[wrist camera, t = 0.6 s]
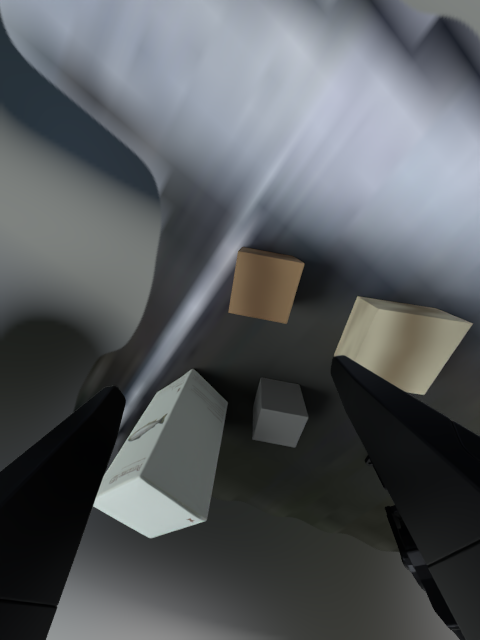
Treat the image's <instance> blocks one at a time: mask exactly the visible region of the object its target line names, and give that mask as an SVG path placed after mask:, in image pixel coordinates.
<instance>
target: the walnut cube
mask: <svg viewBox="0 0 480 640" xmlns="http://www.w3.org/2000/svg"><path fill="white" fill-rule="evenodd" d="M304 264H305V263H303V262H301V261H300V260H298V259H297V258H295V257H294V256H289V255H284V254H278V253H273V252H268V251H262V250H257V249H252V248H246V247H242V248H241V249H240V250H239V251H238V256H237V262H236V268H235V275H234V281H233V287H232V294H231V300H230V306H229V313H233V314H238V315H244V316H249V317H254V318H260V319H265V320H270V321H275V322H281V323H286V324H287V321H288V318H289V314H290V311H291V308H292V304H293V301H294V298H295V294H296V291H297V287H298V284H299V281H300V277H301V274H302V271H303V267H304Z"/></svg>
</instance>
